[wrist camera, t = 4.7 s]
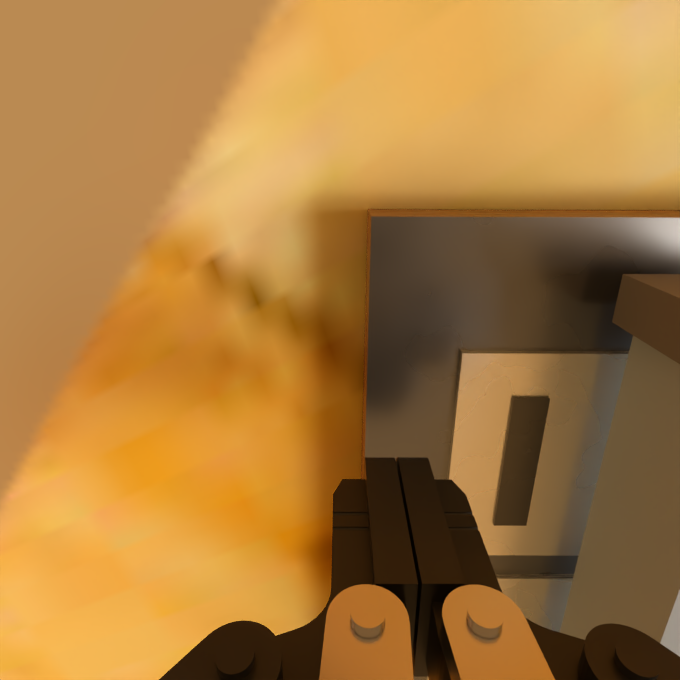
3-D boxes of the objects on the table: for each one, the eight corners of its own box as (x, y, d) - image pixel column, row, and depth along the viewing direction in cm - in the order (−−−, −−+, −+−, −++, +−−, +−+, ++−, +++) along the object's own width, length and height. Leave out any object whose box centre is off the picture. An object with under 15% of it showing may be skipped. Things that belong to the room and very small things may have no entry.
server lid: (367, 208, 13) (371, 217, 11) (916, 211, 13) (1008, 220, 11) (354, 751, 22) (355, 803, 20) (680, 752, 22) (709, 805, 20)
